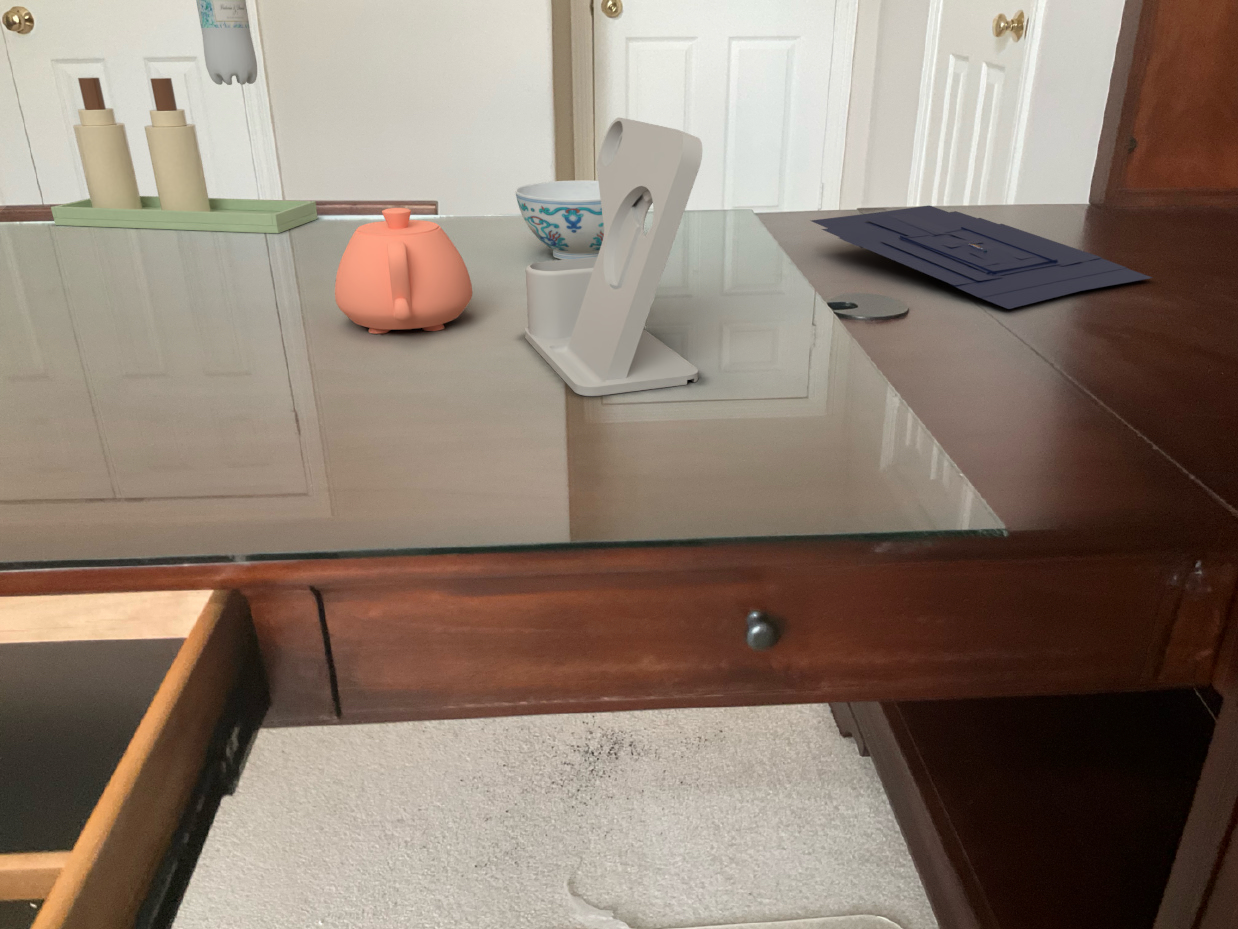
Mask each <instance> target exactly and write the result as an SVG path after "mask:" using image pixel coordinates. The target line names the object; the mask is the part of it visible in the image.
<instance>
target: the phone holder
mask: <svg viewBox="0 0 1238 929" xmlns="http://www.w3.org/2000/svg"><path fill="white" fill-rule="evenodd" d="M702 158H703V144H702V141H701V139H700V138H699V137H698V136H695V135H694V134H693V135H692V134H690V133H687V132H685V131H682V130H680V129H676V128H672V127H668V126H663V125H658V124H653V123H650V122H644V121H639V120H634V119H629V118H625V117H619V116H618V117H616V118H614V119H613V120H612V122H611V123H610V124H609V126H608V128H607V130H606V132H605V135H604V137H603V139H602V143H601V146H600V149H599V152H598V155H597V161H596V174H597V181H598V182H599V191H600V199H601V207H602V215H603V224H604V237H603V241H602V245H601V248H600V251H599V254H598V257H592V258H580V259H567V260H561V259H555V260H554V259H553V260H544V261H537V262H533V263H530V264H529V265H527V266H526V268H525V282H526V284H525V285H526V305H527V327H525V328H524V338H525V340H526V341H527V342H528V344H530V345H531V346H532V347H533V349H534V350H535V351H536V352H537V353H538V354H539V356H541V357H542V358H543V359H544V361H545V362H546V363H547V364H548V365H549V366H550V368H552V369H553V371H555V373H556V374H557V375H558V376H559V377H560V378H561V379H562V380H563V382H565V383H566V385H567V386H568V387H569V388H570V389H571V390H572V391H573V392H574V393H575V394H577V395H580V396H586V397H599V396H608V395H614V394H622V393H631V392H638V391H647V390H654V389H661V388H670V387H676V386H677V387H679V386H685V385H688V381H689V380H690V381H692V382H693V383H696V382H698V379H699V368H697V367H696V366H695V365H694V364H692V363H691V362H689V361H688V360H686V358H684V357H682V355H680V354H679V353H677V351H674V349H672V348H671V347H669V346H668V345H666V344H665V343H663V342H662V341H661V340H660V339H658V338H657V337H655V336H654V335H653V334H651V333H650V332H649V331H647V330H646V329H645V326H646V323H647V319H648V316H649V314H650V311H651V308H652V305H653V302H654V299H655V297H656V295H657V294H656V293H657V291H658V288H659V285H660V282H661V280H662V276H663V274H664V270H665V268H666V265H667V263H668V259H669V256H670V253H671V250H672V248H673V245H674V242H675V239H676V236H677V234H678V230H679V228H680V225H681V222H682V219H683V217H684V213H685V211H686V208H687V205H688V202H689V199H690V196H691V193H692V190H693V187H694V184H695V182H696V180H697V176H698V174H699V171H700V167H701V163H702V160H703V159H702ZM651 206H652V208H653V210H652V222H651V226H650V228H649V230H648V231H647V232H646V234H645V221H646V218H647V214H648V212H649V210H650V208H651Z"/></svg>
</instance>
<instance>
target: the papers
mask: <svg viewBox="0 0 1238 929" xmlns="http://www.w3.org/2000/svg"><path fill="white" fill-rule="evenodd" d="M810 222H811V223H814V224H816V225H819V226H822V227H824V228H821V230H822V231H824V232H826V233H829V234H830V235H834V236H835V237H838V238H839V240H842V241H844V242H847V243H849V244H851V245H854V246H856V247H858V248H861V249H866V250H868V251H871V252H873V253H876V254H878V255H880V256H882V257H885V258H887V259H890V260H892V261H895V262H897V263H899V264H902V265H904V266H907V267H909V268H911V269H914V270H916V271H918V272H921V273H922V274H923V273H924V274H926V275H929V276H930V277H933V278H936V279H937V280H940V281H943V282H945V283H948V284H949V285H950V286H952V287H955V288H957V289H959V290H961V291H963V292H966V293H968V294H970V295H972V296H975V297H977V298H980V299H982V300H984V301H987V302H989V303H992V304H994V305H998V306H1000V307H1003V308H1005V309H1008V310H1011V309H1014V308H1015V309H1016V308H1019V307H1022V306H1027V305H1031V304H1034V303H1038V302H1042V301H1046V300H1050V299H1053V298H1058V297H1062V296H1066V295H1070V294H1073V293H1078V292H1081V291H1088V290H1094V289H1099V288H1104V287H1109V286H1115V285H1121V284H1127V283H1133V282H1138V281H1145V280H1149V279H1153V277H1152V276H1150V275H1147V274H1144V273H1141V272H1138V271H1135V270H1133V269H1130V268H1128V267H1127V266H1124V265H1122V264H1118V263H1116V262H1113V261H1110V260H1109V259H1108V260H1107V259H1106V258H1103V257H1102V256H1100V255H1097V254H1093V253H1090V252H1087V251H1085V250H1081V249H1079V248H1075V247H1072V246H1069V245H1066V244H1063V243H1061V242H1057V241H1054V240H1053V239H1049V238H1046V237H1043V236H1040V235H1038V234H1034V233H1031V232H1028V231H1025V230H1022V229H1019V228H1016V227H1013V226H1010V225H1007V224H1004V223H997V222H993V221H992V220H991V221H990V220H988V219H985V218H983V217H975V216H972V215H969V214H966V213H963V212H961V211H960V212H959V211H956V210H955V211H947V210H944V209H941V208H938V207H935V206H932V205H929V204H928V205H922V206H914V207H908V208H901V209H893V210H892V209H891V210H885V211H878V212H871V213H861V214H853V215H845V216H844V215H843V216H837V217H836V216H835V217H830V218H829V217H828V218H821V219H812V220H810Z"/></svg>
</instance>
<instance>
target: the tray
mask: <svg viewBox="0 0 1238 929" xmlns="http://www.w3.org/2000/svg"><path fill="white" fill-rule="evenodd" d="M208 198H209V203H210V209H211V212H205V211H176V210H161V206H160V201H159V196H158V195H157V196H154V195H140V199H141V204H142V208H143V209H116V208H92V205H91V200H90V197H89V198H85V199H80V200H75V201H71V202H67V203H62V204H58V205H54V206H50V210H51V214H52V218H53V221H54V225H55V226H65V227H66V226H67V227H68V226H72V227H93V228H95V227H96V228H121V229H122V228H123V229H124V228H125V229H146V230H147V229H148V230H175V231H176V230H177V231H179V230H180V231H204V232H207V231H208V232H229V233H230V232H231V233H257V234H280V233H283V232H286V231H288V230H291V229H295V228H297V227H299V226H302V225H305V224H308V223H310V222H313V221H316V220H318V219H319V216H318V212H317V211H318V210H317V203H316V202H317V201H316V200H289V199H288V200H286V199H285V200H283V199H255V198H254V199H253V198H220V197H208Z"/></svg>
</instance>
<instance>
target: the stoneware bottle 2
mask: <svg viewBox="0 0 1238 929" xmlns="http://www.w3.org/2000/svg"><path fill="white" fill-rule="evenodd" d="M150 85H151V89H152V96H153V100H154V104H155V109H150V110H149V111H148V112H149V116H150V121H151V124H149V125H145V126H144V133H145V138H146V141H147V142H146V143H147V147H148V152H149V157H150V161H151V166H152V171H153V176H154V182H155V186H156V191H157V196H159V201H160V206H161V210H176V211H205V212H211V209H210V203H209V198H210V197H209V193H208V187H207V182H206V176H205V171H204V165H203V160H202V154H201V148H200V144H199V138H198V133H197V128H196V124H194V123H188V120H187V116H186V111H185V110H186V109H183V108H178V107H177V100H176V96H175V90H174V85H173V79H172V78H171V77H151V78H150Z"/></svg>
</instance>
